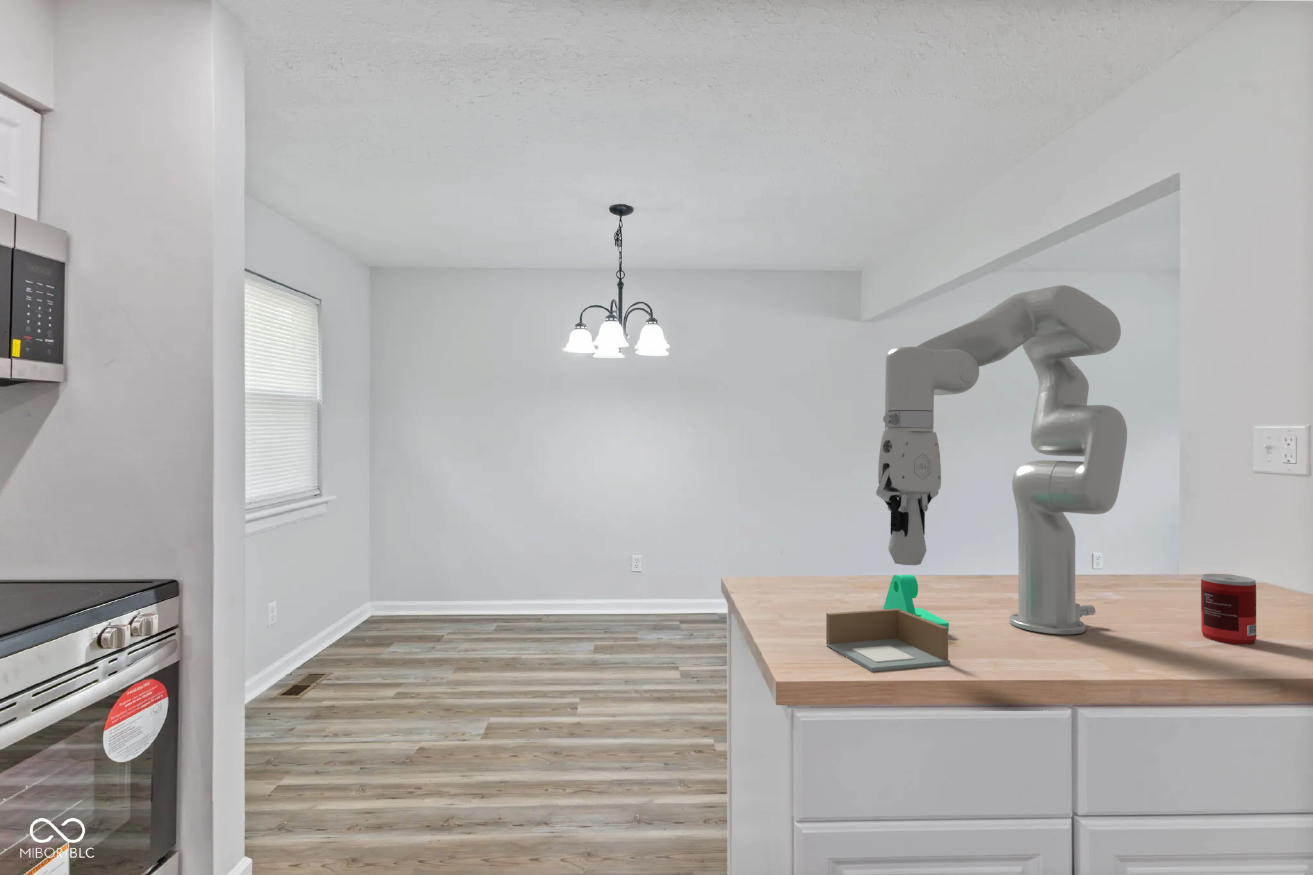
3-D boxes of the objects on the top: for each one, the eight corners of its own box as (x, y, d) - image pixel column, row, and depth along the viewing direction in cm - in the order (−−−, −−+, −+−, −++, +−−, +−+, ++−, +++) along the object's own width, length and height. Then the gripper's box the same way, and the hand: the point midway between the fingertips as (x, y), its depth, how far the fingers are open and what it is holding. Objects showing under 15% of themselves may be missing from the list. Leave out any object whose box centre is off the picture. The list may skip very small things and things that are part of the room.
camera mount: (951, 637, 126) (951, 580, 126) (910, 638, 125) (910, 581, 125) (920, 621, 138) (920, 568, 138) (883, 621, 137) (883, 569, 137)
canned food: (1247, 635, 127) (1247, 575, 127) (1263, 647, 119) (1263, 583, 120) (1195, 631, 130) (1195, 572, 130) (1208, 642, 123) (1208, 579, 123)
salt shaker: (930, 566, 110) (931, 484, 111) (893, 565, 111) (894, 484, 111) (920, 561, 116) (921, 483, 116) (884, 559, 117) (885, 482, 117)
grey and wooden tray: (897, 640, 123) (897, 608, 123) (950, 664, 110) (950, 628, 110) (826, 645, 120) (826, 613, 120) (871, 671, 106) (871, 634, 106)
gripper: (890, 420, 107) (889, 540, 107) (962, 424, 115) (960, 536, 114) (855, 422, 113) (853, 535, 113) (925, 425, 121) (923, 531, 121)
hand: (907, 534), depth 114 cm, fingers closed on salt shaker, 3 cm apart
